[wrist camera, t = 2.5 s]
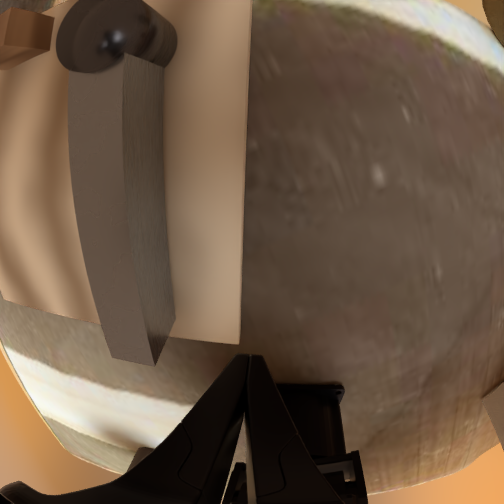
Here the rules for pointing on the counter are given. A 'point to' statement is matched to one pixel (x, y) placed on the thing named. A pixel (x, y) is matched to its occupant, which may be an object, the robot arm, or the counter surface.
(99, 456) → the counter surface
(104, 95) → the swing bar
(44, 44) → the block
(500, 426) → the paper towel roll
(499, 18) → the squeeze bottle
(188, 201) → the tan flat square sheet
